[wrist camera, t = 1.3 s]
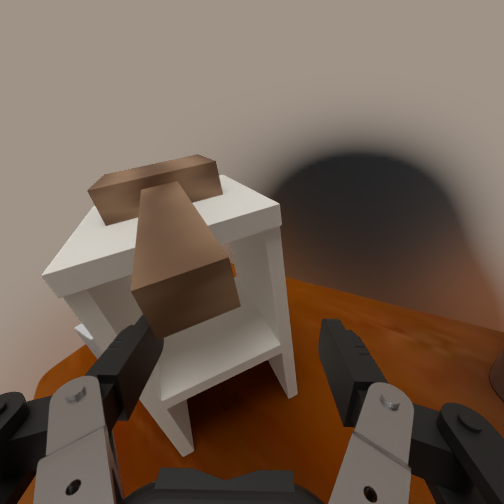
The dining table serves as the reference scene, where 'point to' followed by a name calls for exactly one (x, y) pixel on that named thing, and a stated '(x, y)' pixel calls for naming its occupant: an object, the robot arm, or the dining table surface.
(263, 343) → the shelf stand
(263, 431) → the dining table surface
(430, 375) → the dining table surface
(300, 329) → the dining table surface
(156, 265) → the walnut mallet
